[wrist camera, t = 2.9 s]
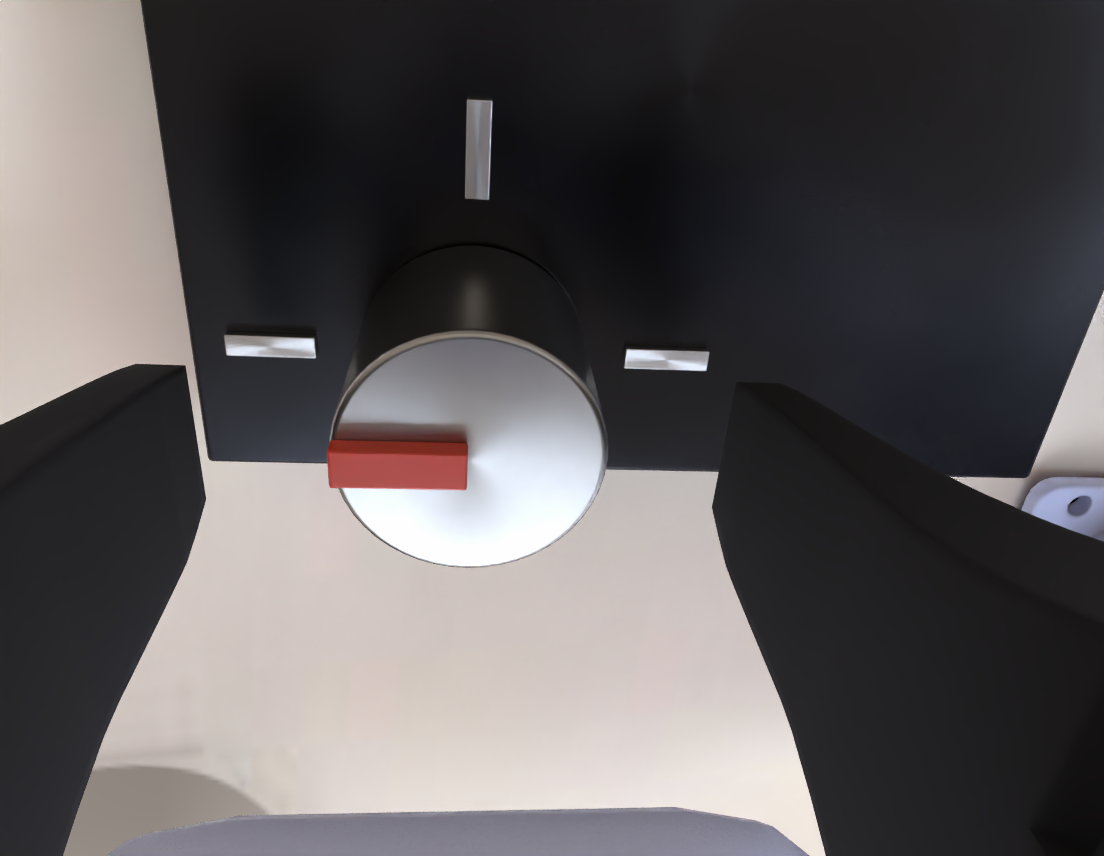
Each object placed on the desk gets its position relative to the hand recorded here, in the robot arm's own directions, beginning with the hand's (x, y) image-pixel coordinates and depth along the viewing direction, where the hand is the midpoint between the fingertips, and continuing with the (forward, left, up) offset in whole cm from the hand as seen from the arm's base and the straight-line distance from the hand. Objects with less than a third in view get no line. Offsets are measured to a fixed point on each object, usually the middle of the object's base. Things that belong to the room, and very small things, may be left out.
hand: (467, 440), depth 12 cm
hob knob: (0, 0, -3) cm, 3 cm away
